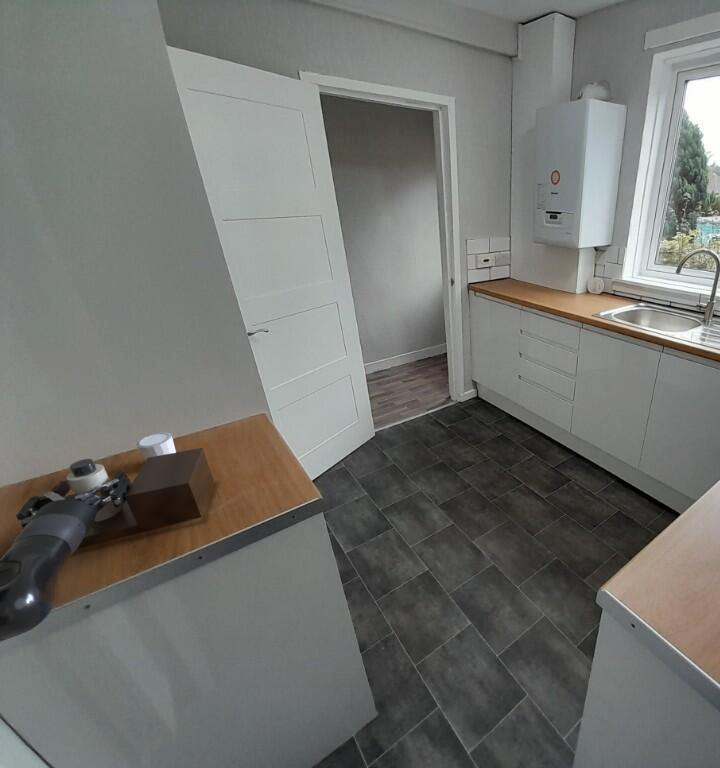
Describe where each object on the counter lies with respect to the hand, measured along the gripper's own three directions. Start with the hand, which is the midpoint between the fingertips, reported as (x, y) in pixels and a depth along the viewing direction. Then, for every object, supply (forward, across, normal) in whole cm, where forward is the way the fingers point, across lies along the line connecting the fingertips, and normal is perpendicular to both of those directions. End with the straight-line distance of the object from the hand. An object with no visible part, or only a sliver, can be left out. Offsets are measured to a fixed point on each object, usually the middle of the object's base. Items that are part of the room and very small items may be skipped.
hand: (94, 479), depth 81 cm
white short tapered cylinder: (+20, -4, +10) cm, 23 cm away
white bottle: (-2, 0, +7) cm, 7 cm away
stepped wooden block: (-2, -6, +10) cm, 12 cm away
